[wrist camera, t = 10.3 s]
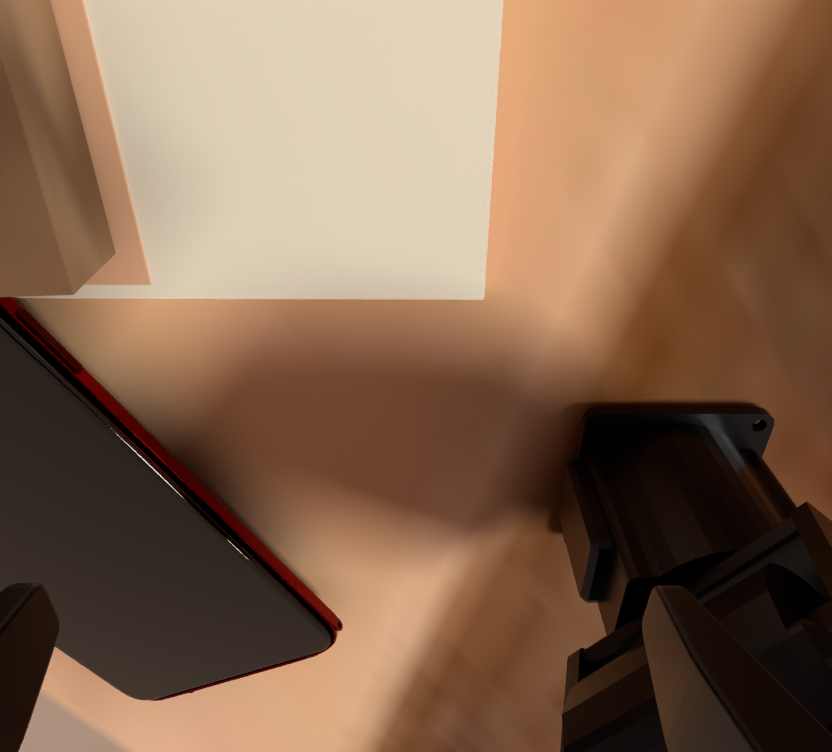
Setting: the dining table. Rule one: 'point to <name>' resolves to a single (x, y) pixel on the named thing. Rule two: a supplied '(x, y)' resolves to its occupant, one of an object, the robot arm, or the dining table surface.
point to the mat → (288, 145)
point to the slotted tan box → (44, 164)
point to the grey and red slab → (132, 538)
